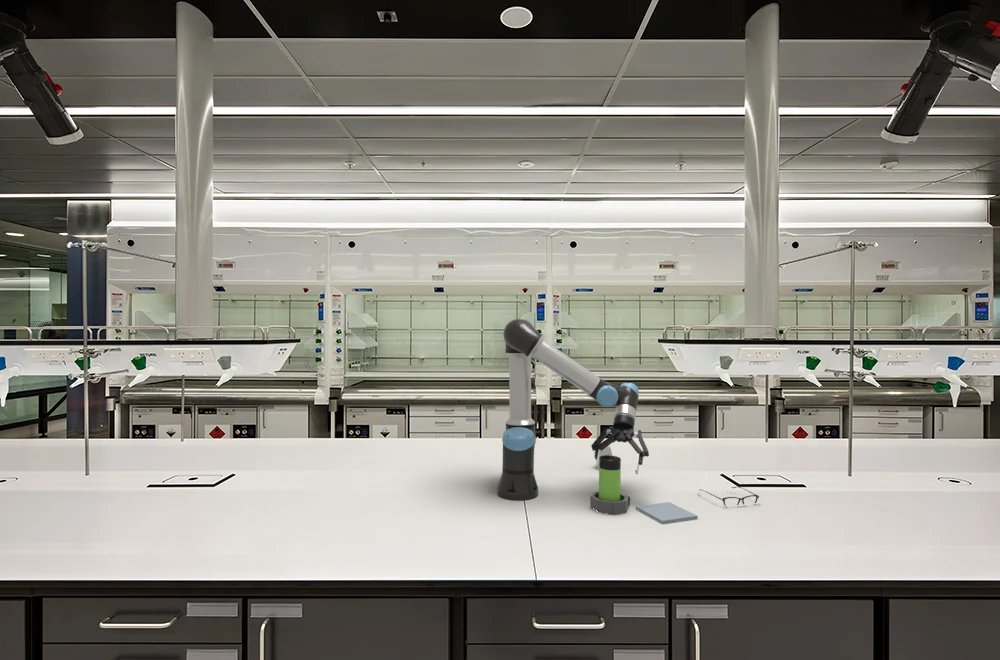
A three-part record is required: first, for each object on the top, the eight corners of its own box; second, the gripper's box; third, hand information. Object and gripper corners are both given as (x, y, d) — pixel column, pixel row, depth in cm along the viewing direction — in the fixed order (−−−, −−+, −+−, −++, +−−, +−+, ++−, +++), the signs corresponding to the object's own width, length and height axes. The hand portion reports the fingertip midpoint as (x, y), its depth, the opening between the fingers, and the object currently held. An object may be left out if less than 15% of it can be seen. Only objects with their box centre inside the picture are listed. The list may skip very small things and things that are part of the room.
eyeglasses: (721, 509, 180) (722, 498, 180) (693, 495, 195) (693, 484, 195) (761, 506, 184) (761, 495, 184) (730, 492, 200) (730, 482, 200)
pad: (662, 524, 165) (662, 520, 165) (635, 509, 178) (635, 506, 178) (697, 518, 170) (697, 515, 170) (669, 504, 183) (669, 502, 183)
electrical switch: (605, 471, 224) (603, 450, 225) (594, 470, 227) (593, 449, 228) (615, 467, 231) (613, 446, 232) (604, 466, 235) (603, 445, 235)
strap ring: (603, 516, 171) (603, 503, 171) (585, 504, 182) (585, 492, 182) (638, 511, 176) (638, 499, 176) (618, 500, 187) (618, 489, 187)
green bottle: (605, 502, 184) (605, 454, 184) (623, 507, 179) (624, 457, 179) (594, 508, 178) (595, 457, 178) (613, 513, 174) (614, 461, 174)
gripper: (659, 428, 193) (654, 479, 180) (593, 422, 203) (583, 470, 189) (658, 416, 188) (652, 468, 175) (590, 411, 198) (579, 459, 185)
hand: (616, 469), depth 182 cm, fingers open, 13 cm apart
